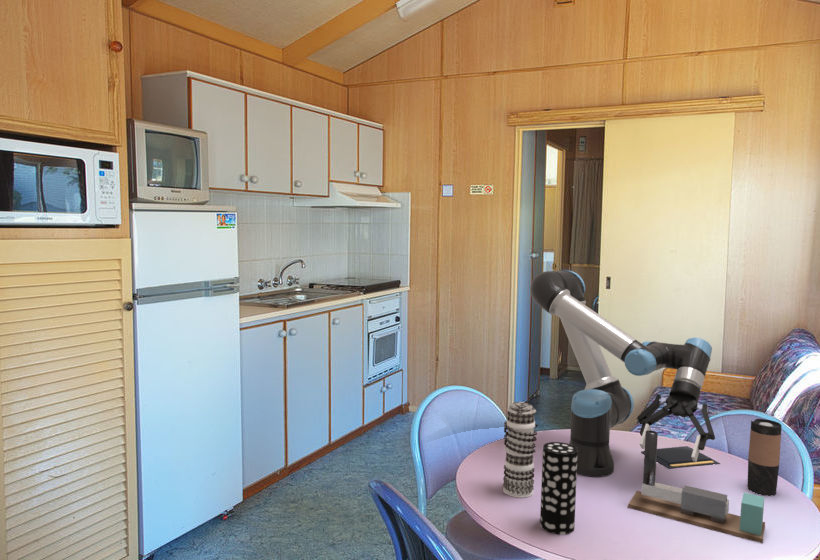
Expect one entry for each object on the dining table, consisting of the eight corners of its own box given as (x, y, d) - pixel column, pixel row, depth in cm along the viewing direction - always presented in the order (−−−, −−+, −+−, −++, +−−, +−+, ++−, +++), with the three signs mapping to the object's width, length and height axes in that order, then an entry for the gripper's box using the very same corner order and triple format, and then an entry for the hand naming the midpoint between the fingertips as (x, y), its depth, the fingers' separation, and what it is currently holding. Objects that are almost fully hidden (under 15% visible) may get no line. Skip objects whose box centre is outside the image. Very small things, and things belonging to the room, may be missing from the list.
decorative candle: (504, 482, 173) (507, 398, 170) (536, 487, 169) (540, 401, 167) (498, 494, 164) (501, 406, 162) (532, 500, 161) (535, 410, 159)
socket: (739, 530, 145) (741, 502, 144) (742, 519, 150) (743, 492, 150) (760, 535, 142) (762, 507, 142) (762, 524, 148) (764, 497, 147)
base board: (627, 507, 158) (628, 503, 158) (636, 494, 166) (636, 490, 166) (762, 543, 141) (762, 539, 141) (764, 526, 149) (765, 522, 149)
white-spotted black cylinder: (535, 518, 151) (538, 442, 149) (567, 517, 152) (570, 441, 150) (545, 535, 143) (549, 454, 141) (579, 534, 143) (583, 454, 142)
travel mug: (781, 497, 166) (786, 428, 164) (751, 494, 167) (756, 425, 165) (770, 486, 173) (775, 419, 171) (742, 483, 175) (746, 417, 173)
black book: (690, 443, 204) (722, 460, 189) (689, 449, 204) (722, 466, 189) (638, 447, 199) (667, 465, 184) (638, 453, 199) (667, 471, 185)
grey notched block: (680, 513, 153) (681, 491, 152) (683, 506, 157) (685, 484, 157) (723, 524, 147) (725, 502, 147) (726, 516, 152) (727, 494, 151)
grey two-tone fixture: (641, 494, 159) (644, 432, 158) (643, 490, 162) (647, 429, 160) (727, 515, 148) (731, 449, 146) (728, 511, 150) (732, 446, 149)
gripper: (737, 402, 164) (719, 471, 154) (646, 386, 180) (625, 447, 171) (732, 387, 159) (714, 458, 150) (640, 372, 176) (618, 435, 166)
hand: (667, 453), depth 160 cm, fingers open, 13 cm apart
